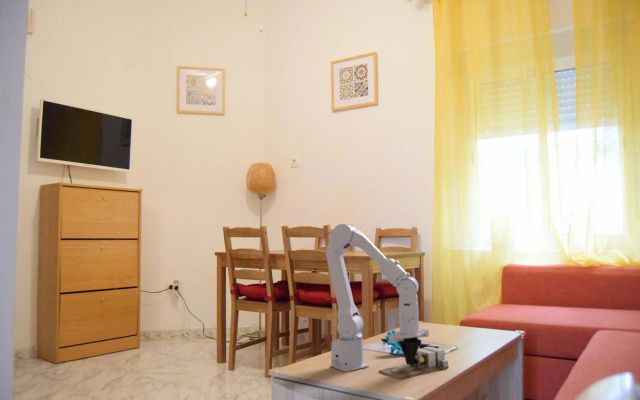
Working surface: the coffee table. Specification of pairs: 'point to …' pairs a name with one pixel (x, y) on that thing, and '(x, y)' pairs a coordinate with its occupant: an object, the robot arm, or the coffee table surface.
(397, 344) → the gear
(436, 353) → the link
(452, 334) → the coffee table surface
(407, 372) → the board
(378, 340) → the coffee table surface
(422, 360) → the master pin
